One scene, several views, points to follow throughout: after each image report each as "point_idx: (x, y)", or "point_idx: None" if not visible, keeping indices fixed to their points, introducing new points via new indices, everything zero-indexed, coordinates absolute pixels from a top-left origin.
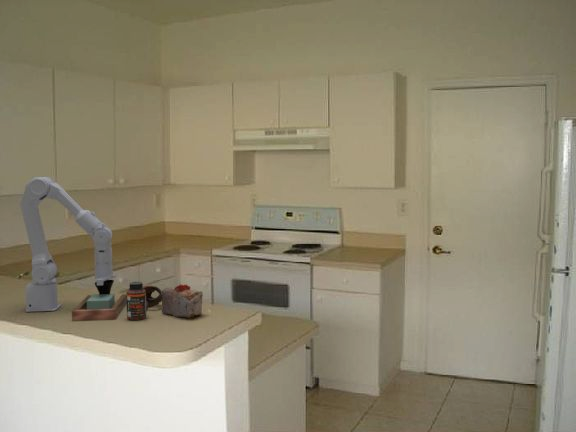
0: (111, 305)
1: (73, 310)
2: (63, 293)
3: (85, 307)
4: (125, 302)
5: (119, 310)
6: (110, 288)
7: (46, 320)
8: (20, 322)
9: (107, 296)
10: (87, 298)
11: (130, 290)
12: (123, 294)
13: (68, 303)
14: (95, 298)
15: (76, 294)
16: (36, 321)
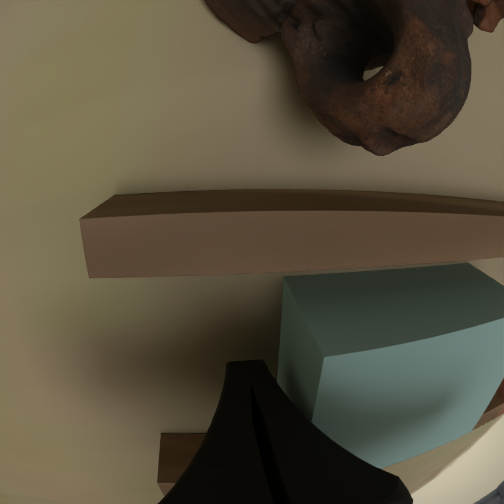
0: (442, 288)
1: (501, 412)
2: (19, 494)
3: None
4: (197, 194)
5: (486, 203)
6: (258, 456)
7: (430, 457)
8: (412, 489)
9: (422, 378)
10: None
11: None
12: (103, 257)
13: (162, 498)
14: (438, 426)
15: (10, 473)
16: (425, 470)
